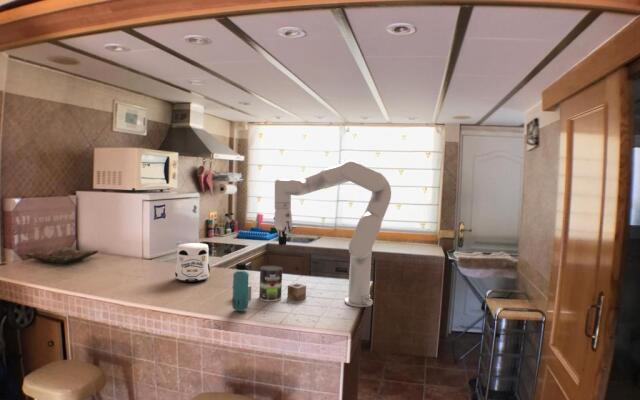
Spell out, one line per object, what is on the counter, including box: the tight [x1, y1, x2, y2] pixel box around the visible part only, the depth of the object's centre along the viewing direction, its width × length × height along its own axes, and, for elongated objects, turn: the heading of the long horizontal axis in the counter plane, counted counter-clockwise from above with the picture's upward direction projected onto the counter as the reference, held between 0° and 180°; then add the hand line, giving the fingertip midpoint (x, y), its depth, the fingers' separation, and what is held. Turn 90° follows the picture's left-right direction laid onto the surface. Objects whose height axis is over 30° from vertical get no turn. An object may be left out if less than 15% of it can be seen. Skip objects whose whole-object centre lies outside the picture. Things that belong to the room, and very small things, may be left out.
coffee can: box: [258, 264, 284, 302], centre depth 177 cm, size 10×10×14 cm
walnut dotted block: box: [286, 282, 307, 302], centre depth 179 cm, size 6×6×6 cm
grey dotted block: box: [248, 282, 252, 301], centre depth 176 cm, size 6×6×6 cm
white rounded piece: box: [174, 242, 211, 283], centre depth 201 cm, size 17×17×18 cm
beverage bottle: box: [231, 262, 250, 311], centre depth 159 cm, size 6×7×20 cm
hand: (282, 244), depth 181 cm, fingers closed
